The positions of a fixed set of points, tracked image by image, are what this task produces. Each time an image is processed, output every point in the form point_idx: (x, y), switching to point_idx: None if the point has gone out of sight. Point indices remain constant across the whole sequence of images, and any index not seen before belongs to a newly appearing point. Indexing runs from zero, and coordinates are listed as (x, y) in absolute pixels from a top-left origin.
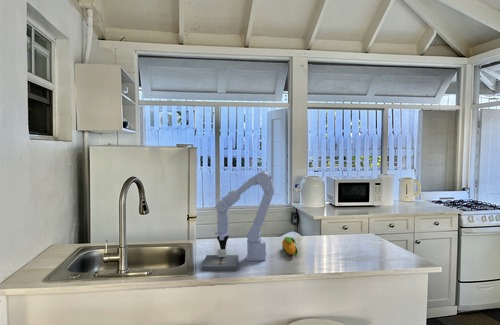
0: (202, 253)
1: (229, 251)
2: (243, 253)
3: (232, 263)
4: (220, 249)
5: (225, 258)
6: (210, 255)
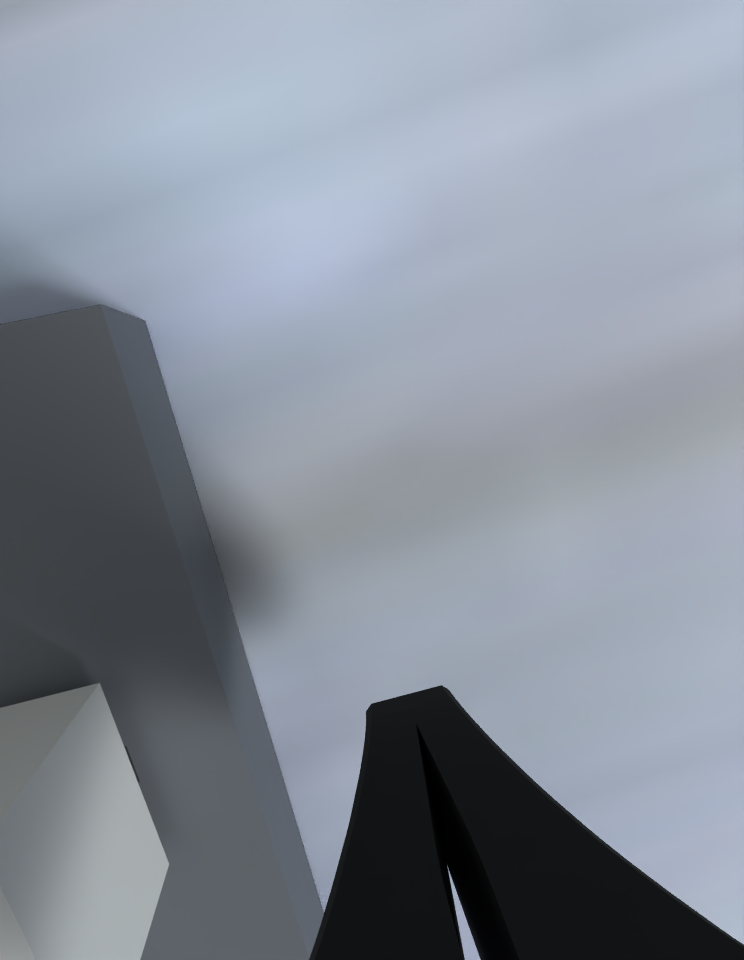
0: (554, 49)
1: (740, 640)
2: None
3: None
4: (17, 931)
5: None
6: (102, 443)
